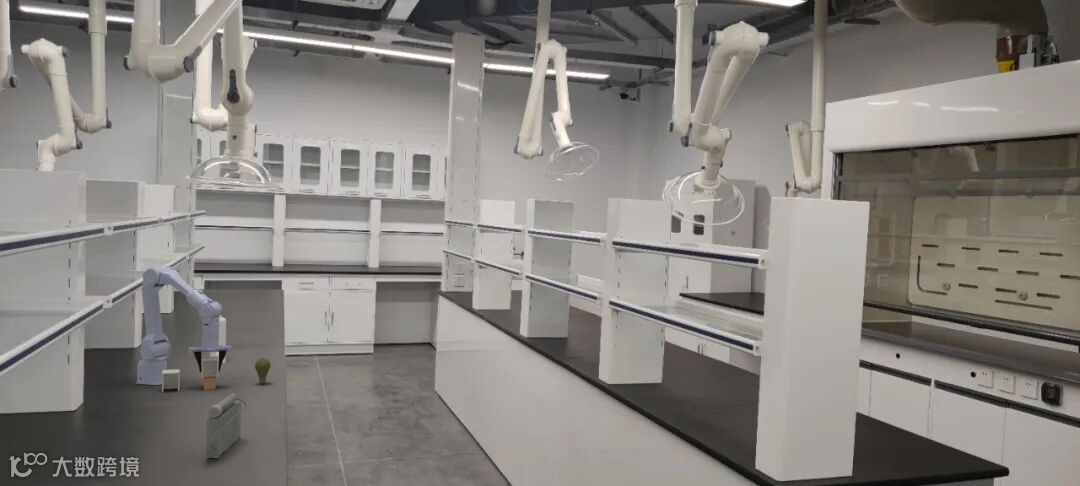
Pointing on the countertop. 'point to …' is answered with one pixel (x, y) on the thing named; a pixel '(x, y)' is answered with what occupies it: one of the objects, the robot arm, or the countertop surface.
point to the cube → (210, 382)
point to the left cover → (171, 379)
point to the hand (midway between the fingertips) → (209, 371)
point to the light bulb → (262, 369)
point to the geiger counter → (223, 425)
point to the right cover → (210, 366)
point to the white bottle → (221, 336)
